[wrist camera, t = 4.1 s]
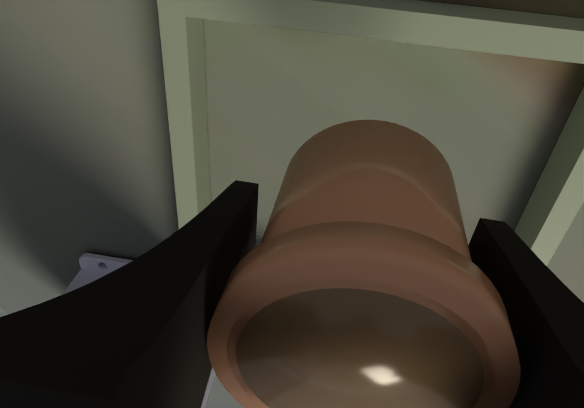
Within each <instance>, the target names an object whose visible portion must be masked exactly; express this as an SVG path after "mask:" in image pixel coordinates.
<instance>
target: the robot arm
mask: <svg viewBox="0 0 584 408" xmlns="http://www.w3.org/2000/svg"><path fill="white" fill-rule="evenodd" d="M257 205H258V184H256V183H250V182H243V181H237V180H236V181H235V182H233V183H232V184H231V185H230V186H229V187H227V188H226V189H225V190H224V191H223V192H222V193H221V194H220V195H219V196H218V197H217V198H216V199H215V200H214V201H212V202H211V203H210V204H209V205H208V206H207V207H206V208H205V209H203V210H202V211H201V212H200V213H199V214H197V215H196V216H195V217H194V218H193V219H191V220H190V221H189V222H188V223H187V224H185V225H184V226H183V227H181V228H180V229H179V230H177V231H176V232H175V233H173V234H172V235H171V236H169V237H168V238H167V239H165V240H164V241H163V242H161V243H160V244H158V245H157V246H155V247H154V248H152V249H151V250H149V251H148V252H146V253H145V254H143V255H141V256H140V257H138V258H136V259H135V260H128V259H122V258H116V257H109V256H103V255H97V254H91V253H84V254H82V255H81V257H80V258H79V264H80V267H81V270H80V271H79V272H78V274H77V275H76V276H75V278H74V279H73V280H72V282H71V283H70V284H69V286H68V287H67V288H66V290H65V291H64V292H63V294H62V295H61V296H58V297H56V298H53V299H51V300H48V301H46V302H43V303H40V304H38V305H35V306H32V307H29V308H26V309H23V310H20V311H17V312H14V313H12V314H9V315H6V316H3V317H0V408H205V405H206V402H207V399H208V396H209V392H210V389H211V386H212V383H213V380H214V377H215V374H216V373H215V371H214V370H213V367H212V365H211V362H210V359H209V355H208V348H207V336H208V330H209V326H210V323H211V320H212V317H213V315H214V312H215V310H216V307H217V305H218V302H219V300H220V297H221V295H222V292H223V290H224V287H225V285H226V282H227V281H228V279H229V277H230V275H231V273H232V271H233V270H234V268H235V267H236V266H237V264H238V263H239V262H240V260H241V259H243V258H244V257H245V256H246V255H247V254H248V253H249V252H250V251H251V250H253V249H254V247H255V243H256V226H257ZM468 247H469V252H470V256H471V261H472V263H474V264H475V265H476V266H477V267H479V268H480V269H481V271H482V272H483V273H484V274H485V275H486V276H487V277H488V278H489V279H490V280H491V282H492V283H493V285H494V286H495V288H496V290H497V291H498V293H499V294H500V296H501V299H502V301H503V304H504V306H505V308H506V312H507V316H508V319H509V323H510V327H511V330H512V334H513V337H514V341H515V345H516V348H517V352H518V356H519V361H520V367H521V373H520V384H519V387H518V391H517V394H516V396H515V398H514V400H513V401H512V403H511V405H510V407H509V408H584V303H583V302H582V301H581V300H580V299H579V298H578V297H577V296H576V295H574V294H573V293H572V292H571V291H570V290H569V289H568V288H567V287H566V286H565V285H564V284H563V283H562V282H561V281H560V280H559V279H558V278H557V277H556V275H555V274H554V273H553V272H552V271H551V270H550V269H549V268H548V267H547V266H546V265H545V264H544V263H543V262H542V261H541V260H540V259H539V258H538V256H537V255H536V254H535V253H534V252H533V251H532V250H531V249H530V248H529V247H528V246H527V245H526V243H525V242H524V241H523V240H522V239H521V238H520V237H519V236H518V235H517V234H516V233H515V232H514V231H513V230H512V229H511V228H510V227H509V226H508V225H507V224H506V223H505V222H502V221H496V220H489V219H483V218H480V219H479V222H478V224H477V226H476V229H475V231H474V234H473V236H472V238H471V241H470V243H469V245H468Z"/></svg>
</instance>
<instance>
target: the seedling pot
mask: <svg viewBox="0 0 584 408" xmlns="http://www.w3.org/2000/svg"><path fill="white" fill-rule="evenodd" d="M207 348H208V355H209V359H210V362H211V365H212V367H213V370H214V371H215V373H216V375H217V377H218V379H219V380H220V382H221V383H222V384H223V386H224V387H225V389H226V390H227V391H228V392H229V393H230V394H231V395H232V396H233V397H234V398H235V400H236V401H238V402H239V403H240V404H241V405H242V406H243V407H245V408H509V407H510V405H511V403H512V401H513V400H514V398H515V396H516V394H517V391H518V387H519V384H520V373H521V367H520V361H519V356H518V352H517V348H516V345H515V341H514V337H513V334H512V330H511V327H510V323H509V319H508V316H507V312H506V308H505V306H504V304H503V301H502V299H501V296H500V294H499V293H498V291H497V290H496V288H495V286H494V285H493V283H492V282H491V280H490V279H489V278H488V277H487V276H486V275H485V274H484V273H483V272H482V271H481V269H480V268H479V267H477V266H476V265H475V264H474V263H472V261H471V256H470V252H469V247H468V243H467V238H466V234H465V229H464V225H463V220H462V216H461V211H460V207H459V202H458V198H457V193H456V189H455V184H454V180H453V175H452V172H451V170H450V167H449V165H448V163H447V161H446V160H445V158H444V156H443V155H442V154H441V153H440V151H439V150H438V149H437V148H436V147H435V146H434V145H433V144H432V143H431V142H430V141H429V140H427V139H426V138H425V137H423V136H422V135H420V134H419V133H417V132H415V131H413V130H411V129H409V128H407V127H404V126H401V125H398V124H395V123H390V122H386V121H378V120H356V121H350V122H344V123H341V124H337V125H334V126H332V127H329V128H327V129H324V130H323V131H321V132H319V133H317V134H316V135H314V136H313V137H311V138H310V139H309V140H308V141H306V142H305V143H304V144H303V145H302V146H301V147H300V148H299V149H298V151H297V152H296V153H295V155H294V156H293V158H292V160H291V161H290V163H289V165H288V168H287V171H286V174H285V176H284V179H283V182H282V185H281V188H280V191H279V193H278V196H277V199H276V202H275V205H274V208H273V211H272V213H271V216H270V219H269V222H268V225H267V228H266V230H265V233H264V236H263V239H262V242H261V244H260V245H259V246H257V247H256V248H254V249H253V250H251V251H250V252H249V253H248V254H247V255H246V256H245V257H244V258H243V259H241V260H240V262H239V263H238V264H237V266H236V267H235V268H234V270H233V271H232V273H231V275H230V277H229V279H228V281H227V282H226V285H225V287H224V290H223V292H222V295H221V297H220V300H219V302H218V305H217V307H216V310H215V312H214V315H213V317H212V320H211V323H210V326H209V330H208V336H207Z"/></svg>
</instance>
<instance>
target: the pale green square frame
mask: <svg viewBox="0 0 584 408" xmlns="http://www.w3.org/2000/svg"><path fill="white" fill-rule="evenodd" d="M157 6H158V16H159V27H160V37H161V48H162V58H163V69H164V79H165V89H166V100H167V110H168V121H169V131H170V142H171V152H172V162H173V173H174V183H175V194H176V204H177V215H178V225H179V229H180V228H181V227H183V226H184V225H185V224H187V223H188V222H189V221H190V220H191V219H193V218H194V217H195V216H196V215H197V214H199V213H200V212H201V211H202V210H203V209H205V208H206V207H207V206H208V205H209V204H210V178H209V153H208V128H207V103H206V78H205V53H204V28H203V19H210V20H218V21H227V22H235V23H244V24H252V25H260V26H269V27H277V28H286V29H294V30H302V31H311V32H319V33H328V34H336V35H344V36H353V37H361V38H370V39H378V40H386V41H395V42H403V43H412V44H420V45H428V46H437V47H445V48H454V49H462V50H470V51H479V52H487V53H496V54H504V55H512V56H521V57H529V58H538V59H546V60H554V61H563V62H571V63H580V64H584V19H583V18H574V17H565V16H556V15H547V14H538V13H529V12H520V11H511V10H502V9H493V8H484V7H476V6H467V5H458V4H449V3H440V2H431V1H422V0H157ZM583 202H584V87H583V89H582V91H581V93H580V95H579V97H578V99H577V101H576V103H575V105H574V107H573V110H572V112H571V114H570V116H569V118H568V120H567V122H566V124H565V126H564V128H563V130H562V132H561V135H560V137H559V139H558V141H557V143H556V145H555V147H554V149H553V151H552V153H551V155H550V157H549V160H548V162H547V164H546V166H545V168H544V170H543V172H542V174H541V176H540V178H539V180H538V182H537V185H536V187H535V189H534V191H533V193H532V195H531V197H530V199H529V201H528V203H527V205H526V207H525V210H524V212H523V214H522V216H521V218H520V220H519V222H518V224H517V226H516V228H515V230H514V232H515V233H516V234H517V235H518V236H519V237H520V238H521V239H522V240H523V241H524V242H525V243H526V245H527V246H528V247H529V248H530V249H531V250H532V251H533V252H534V253H535V254H536V255H537V256H538V258H539V259H540V260H541V261H542V262H543V263H544V264H545V265H546V266H547V265H548V263H549V261H550V260H551V258H552V256H553V254H554V253H555V251H556V249H557V247H558V246H559V244H560V242H561V240H562V239H563V237H564V235H565V233H566V232H567V230H568V228H569V226H570V225H571V223H572V221H573V219H574V218H575V216H576V214H577V212H578V211H579V209H580V207H581V205H582V204H583Z"/></svg>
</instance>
